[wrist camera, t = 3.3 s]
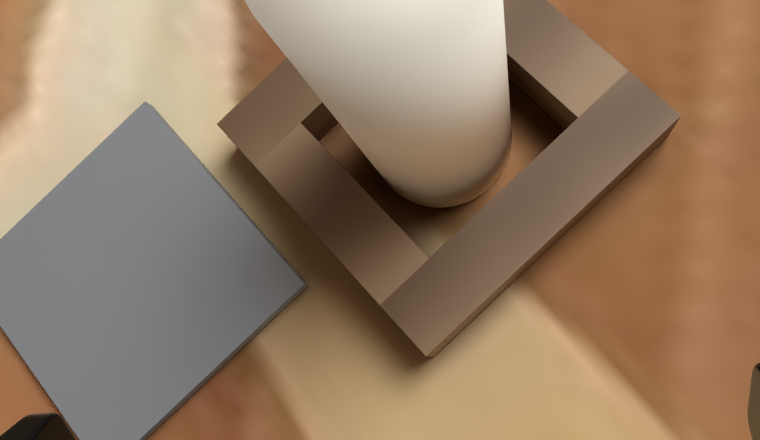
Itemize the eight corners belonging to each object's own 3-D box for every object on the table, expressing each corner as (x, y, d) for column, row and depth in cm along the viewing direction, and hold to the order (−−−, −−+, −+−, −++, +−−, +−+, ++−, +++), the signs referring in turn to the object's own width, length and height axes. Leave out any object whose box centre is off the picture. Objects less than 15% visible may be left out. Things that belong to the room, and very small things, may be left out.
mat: (308, 285, 24) (303, 283, 23) (112, 471, 24) (103, 473, 23) (152, 106, 26) (145, 101, 26) (-26, 275, 26) (-36, 274, 26)
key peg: (542, 138, 23) (557, -80, 12) (438, 236, 23) (351, 117, 12) (444, 47, 24) (371, -233, 13) (346, 140, 24) (184, -53, 13)
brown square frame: (667, 136, 22) (680, 115, 20) (434, 357, 23) (425, 356, 21) (447, -55, 25) (441, -90, 23) (240, 142, 25) (216, 124, 23)
